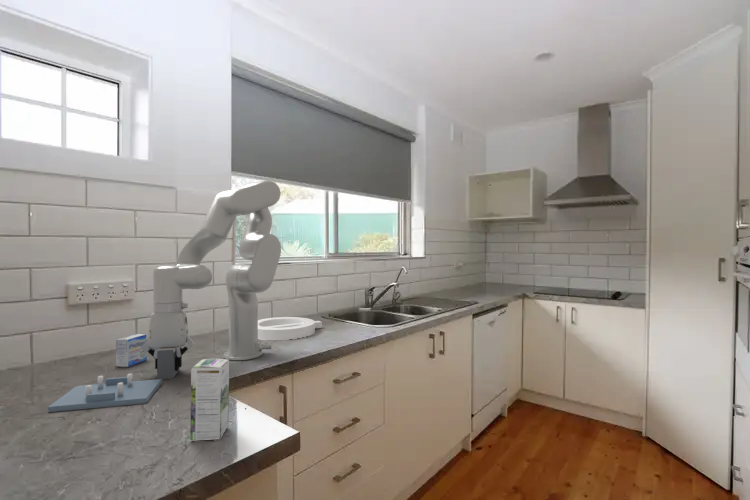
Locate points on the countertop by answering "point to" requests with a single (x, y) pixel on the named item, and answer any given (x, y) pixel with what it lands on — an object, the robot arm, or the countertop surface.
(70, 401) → the blue fixture board
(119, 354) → the medicine box
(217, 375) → the syrup box
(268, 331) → the ring with crossbar
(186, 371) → the countertop surface
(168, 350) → the block
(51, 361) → the countertop surface
